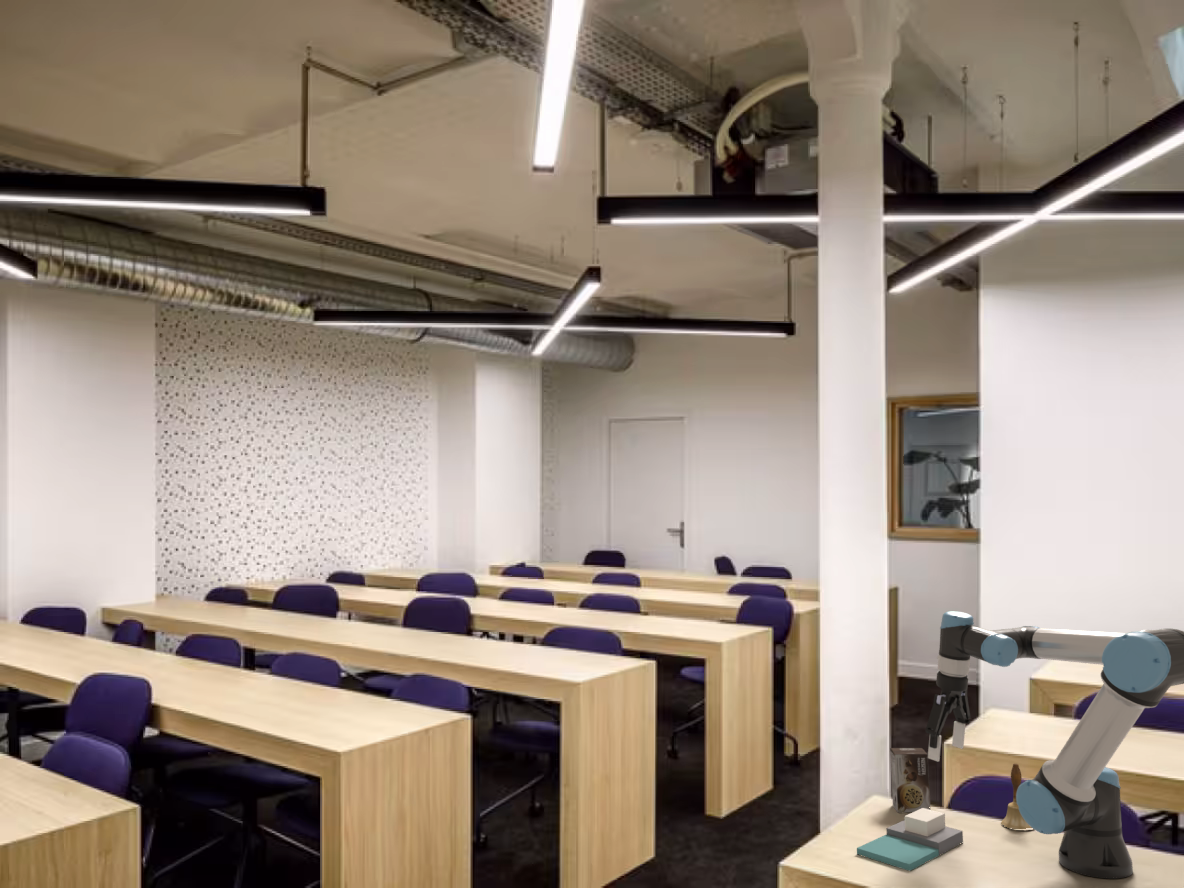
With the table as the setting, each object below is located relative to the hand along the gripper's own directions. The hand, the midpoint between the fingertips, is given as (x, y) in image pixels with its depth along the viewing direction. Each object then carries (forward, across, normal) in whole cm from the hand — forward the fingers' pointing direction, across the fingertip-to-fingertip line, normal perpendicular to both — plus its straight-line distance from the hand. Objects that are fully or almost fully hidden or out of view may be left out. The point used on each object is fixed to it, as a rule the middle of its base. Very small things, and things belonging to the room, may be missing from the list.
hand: (945, 753), depth 234 cm
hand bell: (+20, -19, +13) cm, 30 cm away
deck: (+20, +9, 0) cm, 22 cm away
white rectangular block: (+18, +8, 0) cm, 20 cm away
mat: (+20, +22, 0) cm, 30 cm away
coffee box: (+24, -12, -13) cm, 30 cm away
